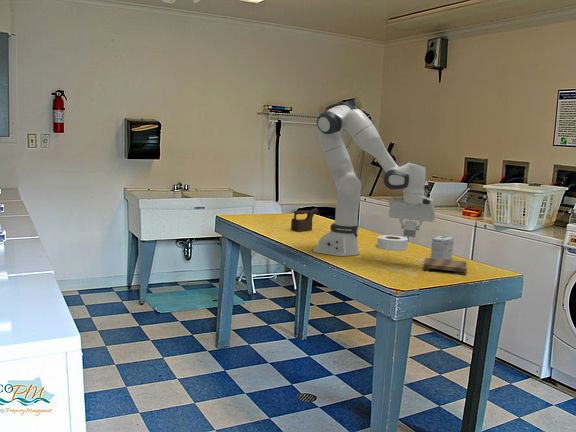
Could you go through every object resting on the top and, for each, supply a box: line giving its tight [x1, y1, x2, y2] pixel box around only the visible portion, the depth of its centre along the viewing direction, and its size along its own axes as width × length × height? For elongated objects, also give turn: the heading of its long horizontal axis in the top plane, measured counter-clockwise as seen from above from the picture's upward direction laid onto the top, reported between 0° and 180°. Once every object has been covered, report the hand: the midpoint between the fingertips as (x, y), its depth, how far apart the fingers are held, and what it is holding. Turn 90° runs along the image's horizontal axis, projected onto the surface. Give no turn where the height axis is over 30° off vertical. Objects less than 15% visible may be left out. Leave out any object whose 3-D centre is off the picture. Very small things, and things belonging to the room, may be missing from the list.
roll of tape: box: [376, 234, 409, 252], centre depth 282 cm, size 16×16×6 cm
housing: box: [402, 219, 418, 238], centre depth 240 cm, size 5×8×6 cm, turn 163°
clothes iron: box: [290, 207, 319, 233], centre depth 322 cm, size 8×16×13 cm, turn 121°
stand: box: [423, 257, 468, 276], centre depth 238 cm, size 18×14×3 cm
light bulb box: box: [430, 235, 455, 260], centre depth 258 cm, size 11×7×11 cm, turn 141°
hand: (410, 229), depth 240 cm, fingers closed on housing, 5 cm apart
